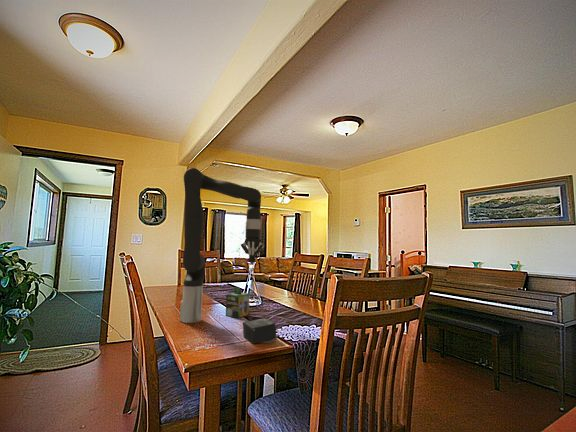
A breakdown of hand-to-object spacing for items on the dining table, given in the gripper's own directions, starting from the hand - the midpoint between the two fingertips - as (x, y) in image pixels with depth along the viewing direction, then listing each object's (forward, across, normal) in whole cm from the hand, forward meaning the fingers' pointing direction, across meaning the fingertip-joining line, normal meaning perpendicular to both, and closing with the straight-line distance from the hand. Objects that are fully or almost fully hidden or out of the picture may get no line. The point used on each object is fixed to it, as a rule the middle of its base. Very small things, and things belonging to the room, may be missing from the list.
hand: (252, 262), depth 155 cm
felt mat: (+29, -20, +20) cm, 40 cm away
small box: (+26, -12, +19) cm, 34 cm away
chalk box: (+29, +11, -7) cm, 32 cm away
